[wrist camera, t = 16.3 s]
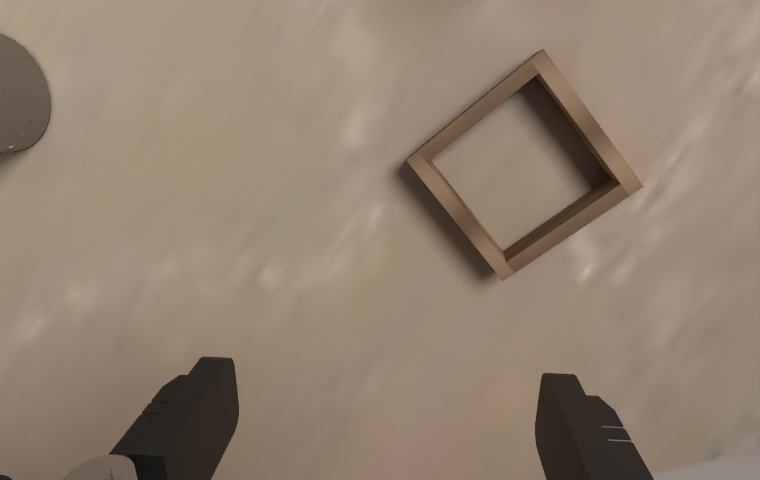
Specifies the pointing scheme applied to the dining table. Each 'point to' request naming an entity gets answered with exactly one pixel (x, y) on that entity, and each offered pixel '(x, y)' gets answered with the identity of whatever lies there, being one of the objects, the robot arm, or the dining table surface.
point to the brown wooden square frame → (565, 221)
